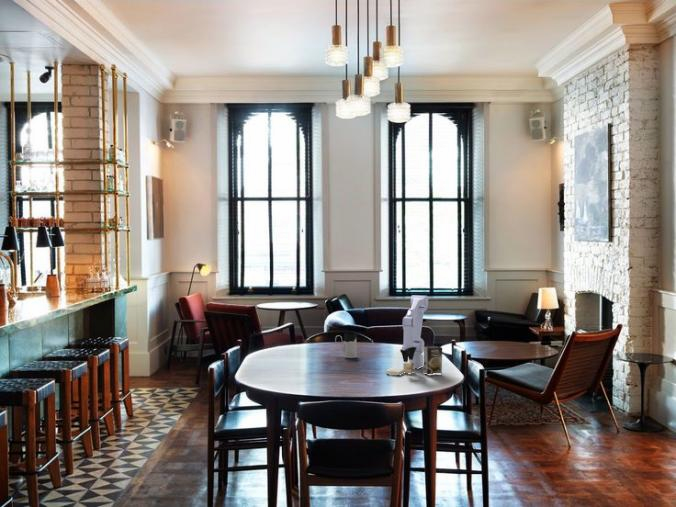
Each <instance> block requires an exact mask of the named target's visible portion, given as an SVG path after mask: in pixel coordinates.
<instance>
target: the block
mask: <svg viewBox="0 0 676 507" xmlns="http://www.w3.org/2000/svg"><path fill="white" fill-rule="evenodd" d="M402 369H404V372H405V373H412V372H414V373H415V369H414V363H411V362H409V361H408V362H403V368H402Z"/></svg>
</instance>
